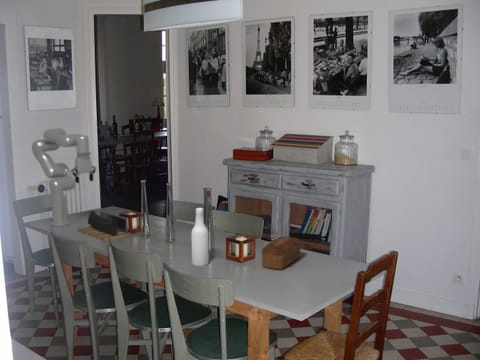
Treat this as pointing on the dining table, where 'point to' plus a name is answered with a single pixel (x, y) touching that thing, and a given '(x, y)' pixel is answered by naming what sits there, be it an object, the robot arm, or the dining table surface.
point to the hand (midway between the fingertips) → (84, 181)
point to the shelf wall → (120, 222)
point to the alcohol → (199, 240)
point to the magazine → (102, 223)
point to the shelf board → (101, 235)
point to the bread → (281, 252)
